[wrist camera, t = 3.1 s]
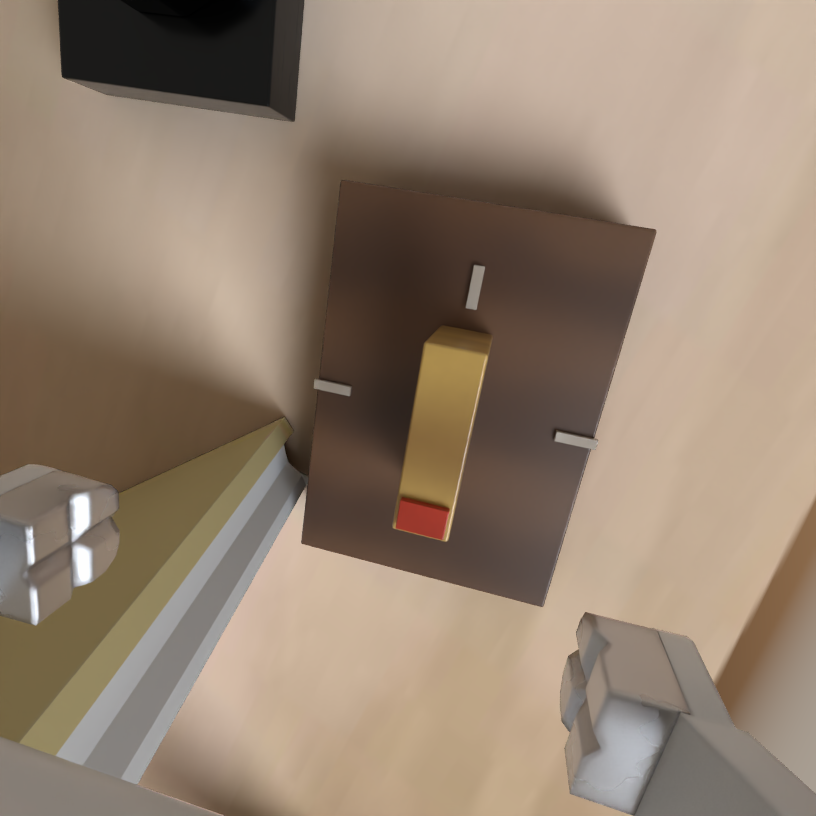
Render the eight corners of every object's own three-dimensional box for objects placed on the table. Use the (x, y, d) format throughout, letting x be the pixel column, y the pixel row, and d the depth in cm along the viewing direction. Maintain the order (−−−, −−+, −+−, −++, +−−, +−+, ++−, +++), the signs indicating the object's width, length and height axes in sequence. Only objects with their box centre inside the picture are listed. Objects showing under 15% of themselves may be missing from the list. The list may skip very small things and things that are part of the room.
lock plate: (362, 189, 19) (335, 177, 16) (638, 233, 18) (662, 229, 15) (323, 509, 24) (296, 545, 21) (541, 564, 22) (546, 611, 19)
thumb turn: (440, 324, 17) (422, 342, 14) (493, 334, 17) (488, 355, 13) (411, 481, 19) (389, 533, 16) (458, 492, 19) (446, 547, 15)
